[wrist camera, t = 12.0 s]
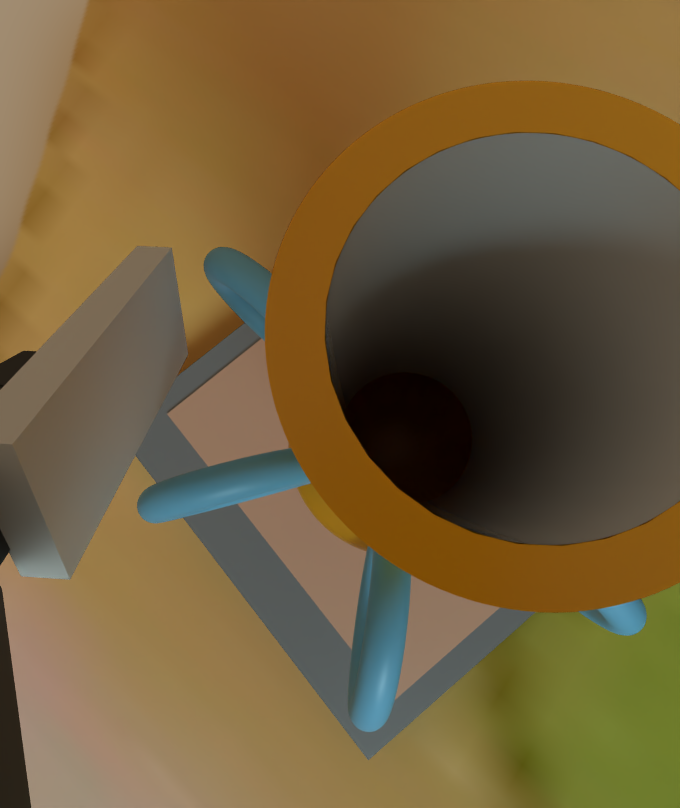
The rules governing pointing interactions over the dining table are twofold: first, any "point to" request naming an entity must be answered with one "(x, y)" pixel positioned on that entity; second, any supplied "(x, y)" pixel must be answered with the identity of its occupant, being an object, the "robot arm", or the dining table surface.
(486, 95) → the tube with blue rings
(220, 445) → the tray
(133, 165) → the dining table surface
